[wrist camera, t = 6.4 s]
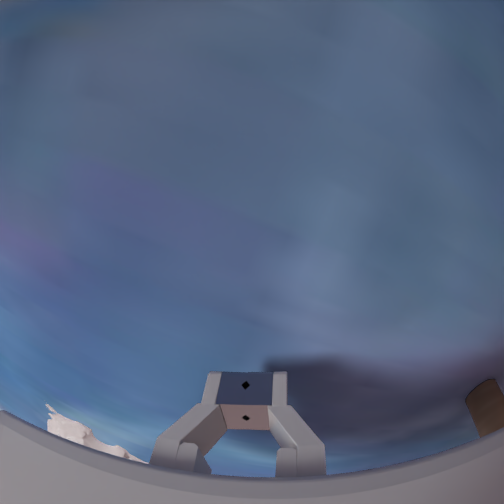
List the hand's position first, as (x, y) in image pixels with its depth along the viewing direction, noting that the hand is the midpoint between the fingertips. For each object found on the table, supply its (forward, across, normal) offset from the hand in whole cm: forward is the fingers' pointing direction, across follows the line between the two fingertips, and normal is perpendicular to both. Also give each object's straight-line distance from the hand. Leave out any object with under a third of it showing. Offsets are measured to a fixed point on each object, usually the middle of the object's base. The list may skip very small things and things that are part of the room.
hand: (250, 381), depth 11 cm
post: (+2, -15, +7) cm, 16 cm away
